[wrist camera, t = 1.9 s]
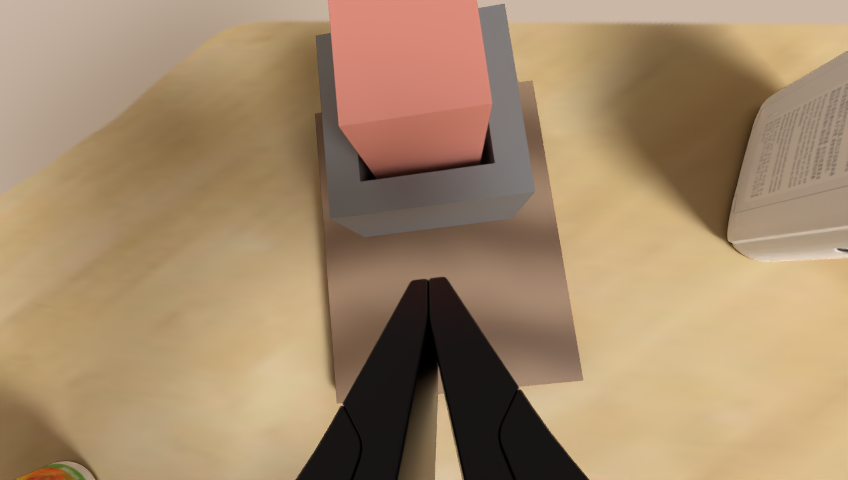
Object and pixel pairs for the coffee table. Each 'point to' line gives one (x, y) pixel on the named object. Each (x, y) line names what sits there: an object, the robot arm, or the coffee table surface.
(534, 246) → the board
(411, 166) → the plug
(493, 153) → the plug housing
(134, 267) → the coffee table surface
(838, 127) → the photo printer
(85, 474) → the supplement bottle
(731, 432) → the coffee table surface
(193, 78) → the coffee table surface
